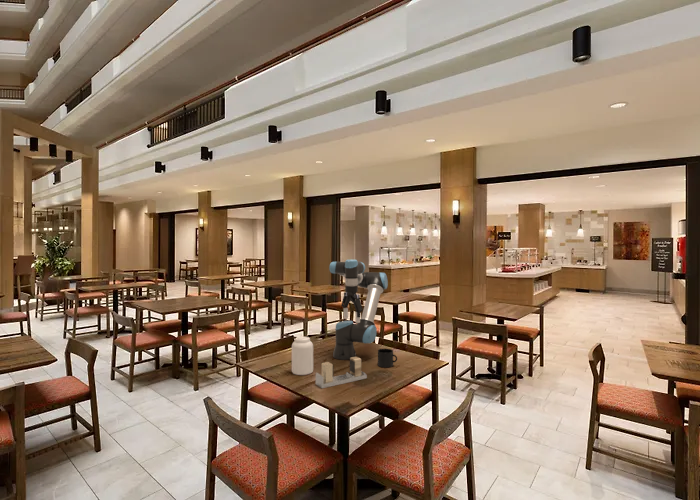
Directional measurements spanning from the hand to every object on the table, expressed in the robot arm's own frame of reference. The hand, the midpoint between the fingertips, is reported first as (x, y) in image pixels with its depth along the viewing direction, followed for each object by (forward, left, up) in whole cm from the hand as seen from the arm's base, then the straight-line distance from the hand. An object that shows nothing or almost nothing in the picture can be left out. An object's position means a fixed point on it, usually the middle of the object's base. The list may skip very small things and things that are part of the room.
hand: (351, 320), depth 224 cm
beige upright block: (+16, -7, -27) cm, 32 cm away
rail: (+16, -16, -29) cm, 36 cm away
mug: (+8, +21, -29) cm, 36 cm away
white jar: (-9, -28, -29) cm, 41 cm away
